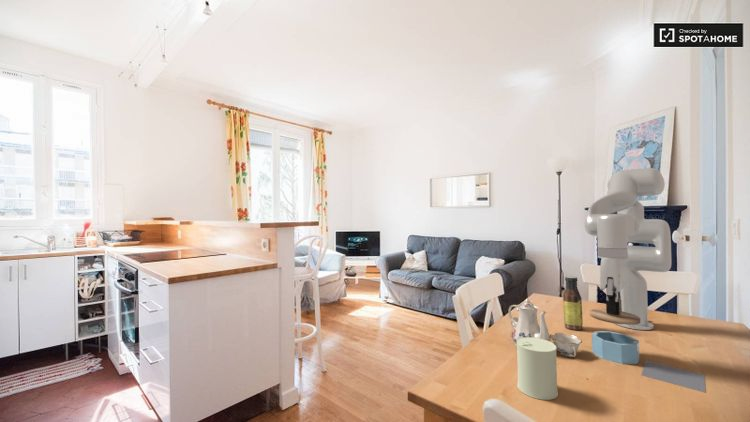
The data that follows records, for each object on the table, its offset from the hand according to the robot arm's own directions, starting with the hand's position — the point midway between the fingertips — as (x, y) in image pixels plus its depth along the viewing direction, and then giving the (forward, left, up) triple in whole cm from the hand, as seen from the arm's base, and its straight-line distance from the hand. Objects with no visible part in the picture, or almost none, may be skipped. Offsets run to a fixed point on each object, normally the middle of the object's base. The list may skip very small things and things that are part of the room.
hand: (614, 312), depth 96 cm
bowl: (0, 0, -14) cm, 14 cm away
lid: (0, 0, -2) cm, 2 cm away
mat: (+4, +13, -14) cm, 19 cm away
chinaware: (+7, -21, -14) cm, 26 cm away
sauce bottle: (-20, -16, -14) cm, 29 cm away
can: (+36, -11, -14) cm, 40 cm away
